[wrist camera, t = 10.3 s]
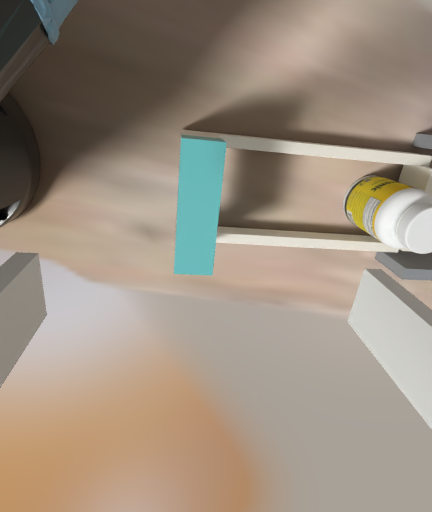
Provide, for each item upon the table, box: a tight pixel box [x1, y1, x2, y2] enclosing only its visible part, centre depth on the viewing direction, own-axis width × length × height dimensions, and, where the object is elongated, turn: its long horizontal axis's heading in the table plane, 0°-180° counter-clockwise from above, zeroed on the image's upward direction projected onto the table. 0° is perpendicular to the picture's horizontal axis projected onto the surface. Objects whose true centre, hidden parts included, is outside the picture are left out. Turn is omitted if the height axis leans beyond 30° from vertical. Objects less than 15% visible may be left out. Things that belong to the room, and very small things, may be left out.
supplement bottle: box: [343, 175, 432, 254], centre depth 30 cm, size 5×5×10 cm
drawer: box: [174, 129, 432, 275], centre depth 29 cm, size 24×10×9 cm, turn 84°
